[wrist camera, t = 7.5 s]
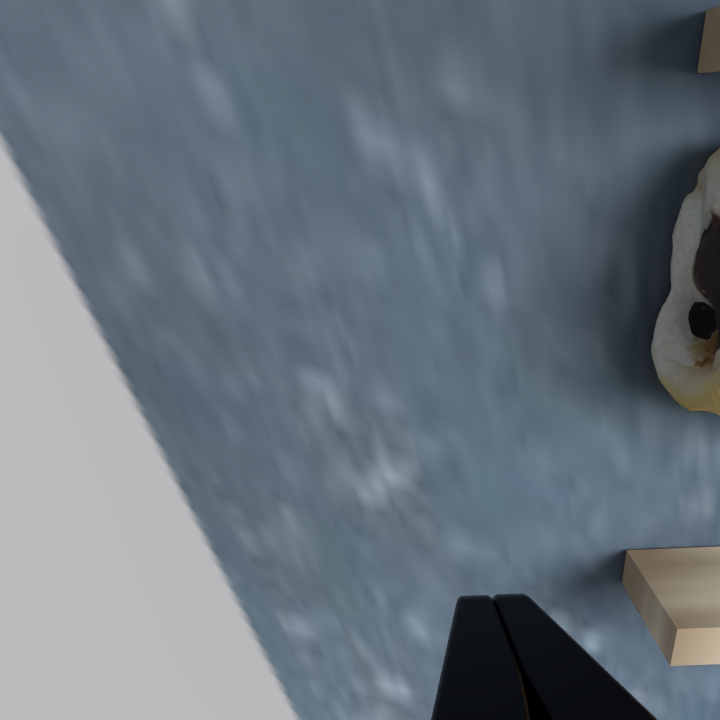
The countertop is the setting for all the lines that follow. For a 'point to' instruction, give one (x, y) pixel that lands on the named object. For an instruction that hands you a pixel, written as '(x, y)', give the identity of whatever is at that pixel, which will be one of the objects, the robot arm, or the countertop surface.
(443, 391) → the countertop surface
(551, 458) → the countertop surface
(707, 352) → the pastry
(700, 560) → the beige piece
